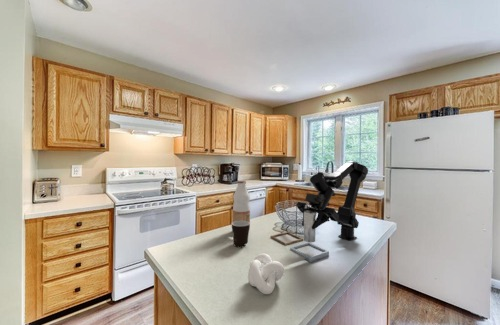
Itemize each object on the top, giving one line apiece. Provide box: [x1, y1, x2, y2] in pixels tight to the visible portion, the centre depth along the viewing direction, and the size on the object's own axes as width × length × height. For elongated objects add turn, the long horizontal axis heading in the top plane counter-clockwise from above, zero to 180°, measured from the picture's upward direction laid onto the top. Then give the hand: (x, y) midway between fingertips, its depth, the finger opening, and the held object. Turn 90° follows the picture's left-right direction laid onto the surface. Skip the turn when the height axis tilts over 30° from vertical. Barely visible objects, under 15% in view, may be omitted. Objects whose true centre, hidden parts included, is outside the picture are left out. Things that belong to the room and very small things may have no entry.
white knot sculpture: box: [247, 253, 285, 295], centre depth 69 cm, size 11×12×9 cm
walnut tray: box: [270, 231, 304, 246], centre depth 106 cm, size 11×11×2 cm
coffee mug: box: [230, 221, 251, 248], centre depth 103 cm, size 12×9×10 cm
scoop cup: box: [303, 211, 317, 243], centre depth 92 cm, size 5×5×12 cm
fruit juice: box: [232, 179, 251, 231], centre depth 119 cm, size 9×9×28 cm
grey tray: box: [289, 242, 330, 264], centre depth 92 cm, size 11×11×2 cm
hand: (307, 227), depth 91 cm, fingers closed on scoop cup, 5 cm apart
